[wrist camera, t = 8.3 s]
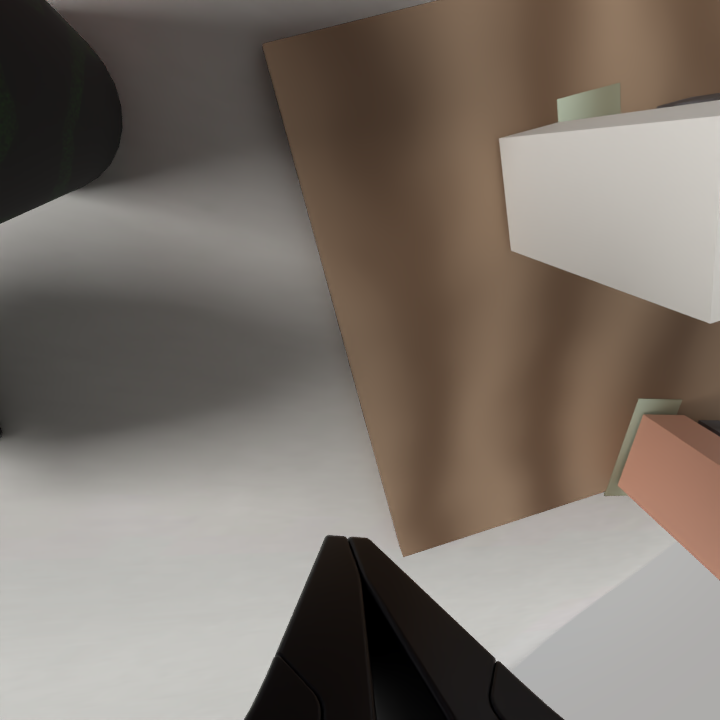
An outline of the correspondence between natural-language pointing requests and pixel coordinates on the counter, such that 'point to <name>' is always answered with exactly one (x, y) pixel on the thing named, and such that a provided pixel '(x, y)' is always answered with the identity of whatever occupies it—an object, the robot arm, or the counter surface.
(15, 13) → the cup
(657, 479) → the salmon pink rectangular block
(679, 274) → the white rectangular block
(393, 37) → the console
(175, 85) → the counter surface
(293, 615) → the robot arm
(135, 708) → the counter surface
